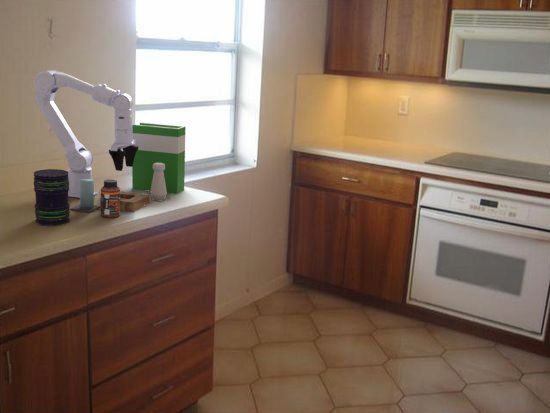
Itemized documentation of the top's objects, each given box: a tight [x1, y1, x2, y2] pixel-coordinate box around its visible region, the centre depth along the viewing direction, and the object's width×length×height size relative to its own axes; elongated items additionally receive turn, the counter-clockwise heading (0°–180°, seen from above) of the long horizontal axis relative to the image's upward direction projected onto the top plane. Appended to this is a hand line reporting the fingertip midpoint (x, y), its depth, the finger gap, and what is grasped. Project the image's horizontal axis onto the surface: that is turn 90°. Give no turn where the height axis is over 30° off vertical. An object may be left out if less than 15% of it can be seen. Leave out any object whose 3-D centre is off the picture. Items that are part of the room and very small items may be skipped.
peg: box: [79, 178, 95, 209], centre depth 198 cm, size 4×4×9 cm
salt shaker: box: [149, 163, 168, 202], centre depth 215 cm, size 6×6×13 cm
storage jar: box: [33, 168, 71, 227], centre depth 183 cm, size 10×10×15 cm
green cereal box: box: [131, 122, 186, 195], centre depth 228 cm, size 18×7×24 cm, turn 78°
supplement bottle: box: [100, 179, 121, 219], centre depth 193 cm, size 6×6×11 cm
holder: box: [99, 190, 151, 213], centre depth 207 cm, size 12×12×3 cm
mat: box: [70, 204, 101, 214], centre depth 200 cm, size 7×7×1 cm
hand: (124, 168), depth 214 cm, fingers open, 7 cm apart
